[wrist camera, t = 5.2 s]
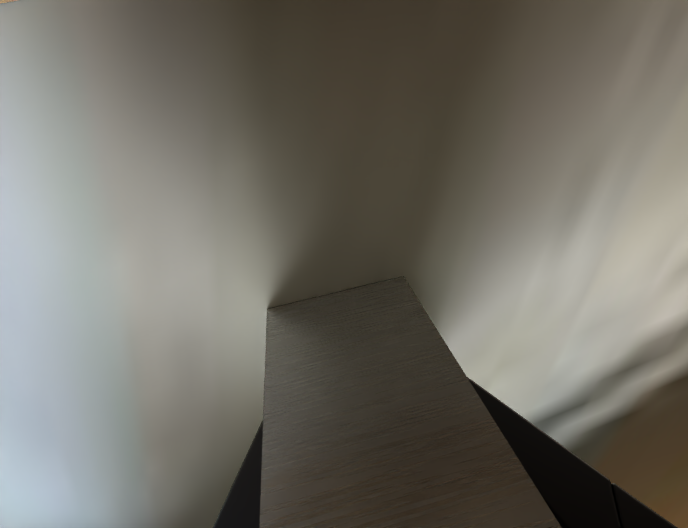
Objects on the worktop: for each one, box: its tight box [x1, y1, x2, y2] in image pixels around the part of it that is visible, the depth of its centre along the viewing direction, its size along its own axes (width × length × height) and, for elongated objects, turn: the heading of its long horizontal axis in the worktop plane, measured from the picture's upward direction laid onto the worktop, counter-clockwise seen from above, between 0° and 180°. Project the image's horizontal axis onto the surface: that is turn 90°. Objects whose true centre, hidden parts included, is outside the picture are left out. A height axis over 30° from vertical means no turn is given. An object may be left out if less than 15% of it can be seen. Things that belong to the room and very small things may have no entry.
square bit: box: [260, 276, 562, 528], centre depth 7 cm, size 4×4×8 cm
